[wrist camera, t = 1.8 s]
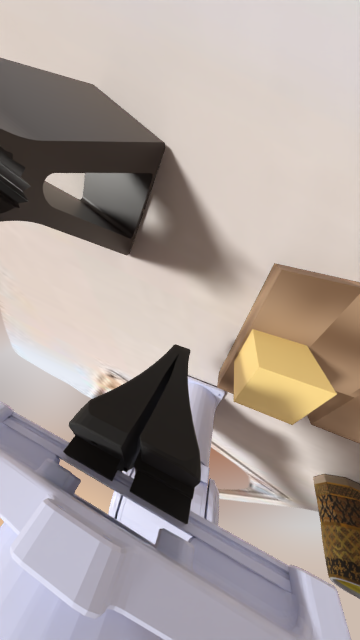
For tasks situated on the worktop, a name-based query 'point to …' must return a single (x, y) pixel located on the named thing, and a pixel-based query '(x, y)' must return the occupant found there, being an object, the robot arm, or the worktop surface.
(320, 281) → the box
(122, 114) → the phone stand
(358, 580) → the ceramic cup
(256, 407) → the block
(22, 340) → the worktop surface
